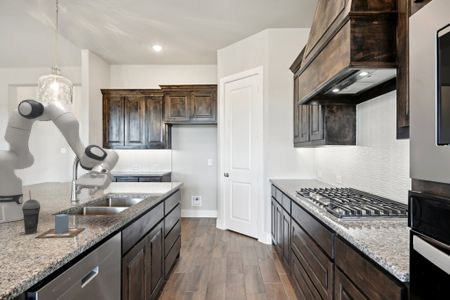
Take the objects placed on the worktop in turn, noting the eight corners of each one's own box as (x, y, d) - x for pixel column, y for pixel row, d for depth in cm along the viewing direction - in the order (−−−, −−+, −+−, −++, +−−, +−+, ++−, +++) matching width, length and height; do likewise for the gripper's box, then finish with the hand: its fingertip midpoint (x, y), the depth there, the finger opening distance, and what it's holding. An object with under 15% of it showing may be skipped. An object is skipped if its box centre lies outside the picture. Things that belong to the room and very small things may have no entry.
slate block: (60, 233, 127) (61, 216, 127) (54, 232, 129) (54, 215, 129) (68, 231, 131) (68, 214, 131) (62, 230, 132) (62, 214, 132)
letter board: (35, 238, 122) (35, 237, 122) (50, 229, 136) (50, 228, 136) (73, 237, 124) (73, 236, 124) (85, 228, 138) (85, 227, 138)
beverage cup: (30, 235, 126) (31, 191, 127) (17, 234, 128) (18, 191, 128) (43, 230, 134) (44, 189, 134) (31, 229, 135) (32, 189, 135)
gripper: (81, 169, 152) (65, 189, 143) (110, 170, 145) (95, 191, 136) (88, 177, 156) (72, 196, 147) (116, 178, 149) (102, 199, 140)
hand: (84, 194), depth 141 cm, fingers open, 8 cm apart
